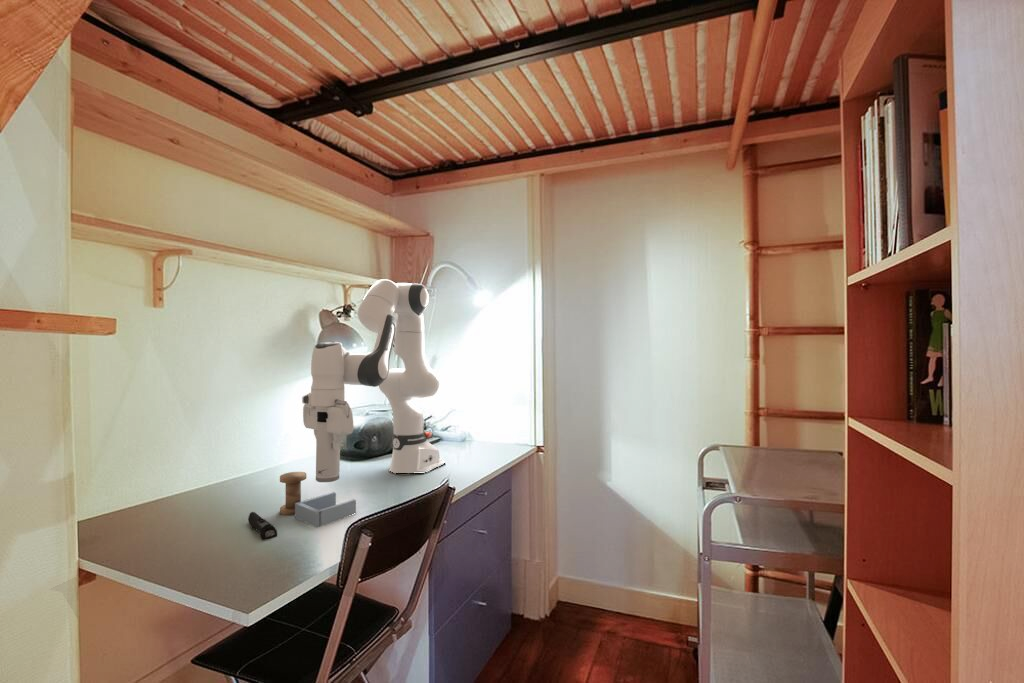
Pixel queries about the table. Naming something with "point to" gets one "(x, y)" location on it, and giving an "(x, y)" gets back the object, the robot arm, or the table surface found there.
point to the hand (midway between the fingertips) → (327, 447)
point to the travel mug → (326, 452)
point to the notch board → (323, 509)
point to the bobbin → (292, 491)
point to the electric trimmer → (262, 526)
